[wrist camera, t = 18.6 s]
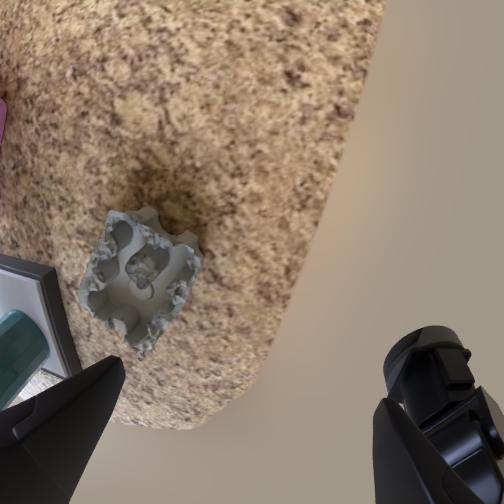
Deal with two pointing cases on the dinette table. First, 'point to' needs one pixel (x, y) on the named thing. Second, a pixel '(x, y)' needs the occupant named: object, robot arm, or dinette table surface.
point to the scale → (40, 309)
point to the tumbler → (19, 354)
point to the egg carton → (139, 276)
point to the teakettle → (2, 117)
